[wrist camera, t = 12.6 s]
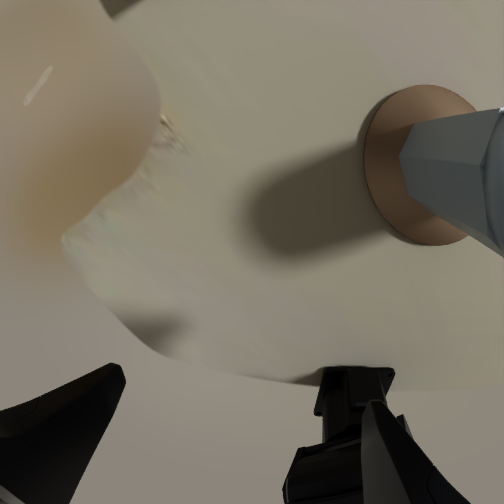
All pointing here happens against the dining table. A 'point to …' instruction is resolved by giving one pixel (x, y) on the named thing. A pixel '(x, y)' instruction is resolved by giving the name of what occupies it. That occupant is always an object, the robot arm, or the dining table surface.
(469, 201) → the blue dome cap nut
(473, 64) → the dining table surface
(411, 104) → the brown pegged disc
